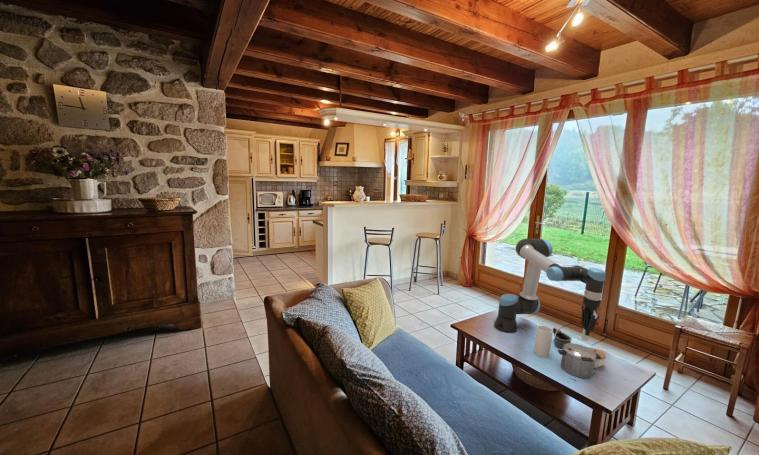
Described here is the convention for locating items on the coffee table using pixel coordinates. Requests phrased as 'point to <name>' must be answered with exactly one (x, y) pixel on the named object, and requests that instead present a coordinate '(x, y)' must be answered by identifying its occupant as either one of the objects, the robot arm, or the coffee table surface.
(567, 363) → the pot
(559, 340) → the mug
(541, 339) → the cup
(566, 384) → the coffee table surface
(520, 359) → the coffee table surface
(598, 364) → the lidded jar
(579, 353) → the lid
